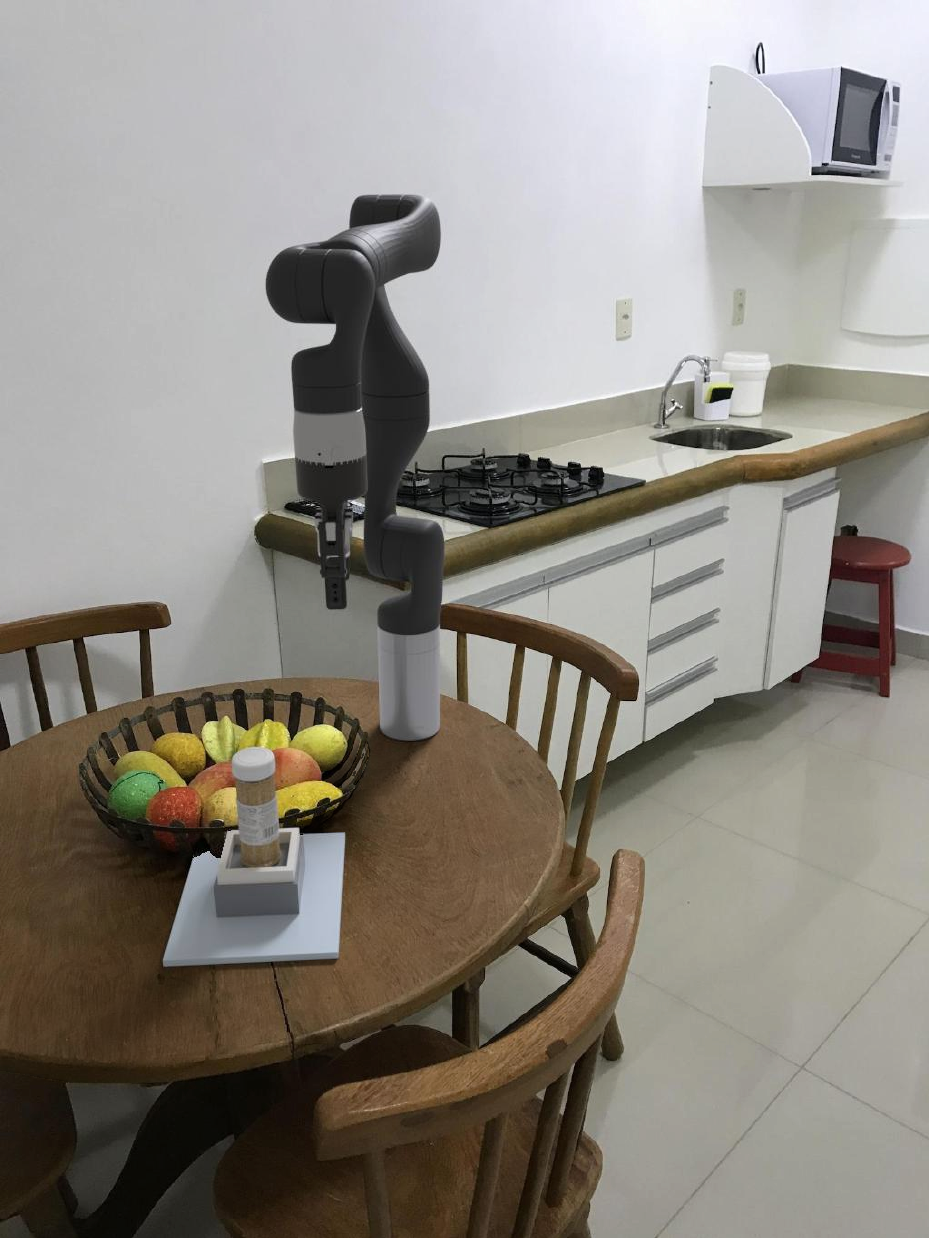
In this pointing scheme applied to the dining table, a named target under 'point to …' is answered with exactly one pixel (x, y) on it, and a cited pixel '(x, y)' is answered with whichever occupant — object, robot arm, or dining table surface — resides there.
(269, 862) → the sprinkles bottle
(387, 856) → the dining table surface
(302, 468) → the robot arm
